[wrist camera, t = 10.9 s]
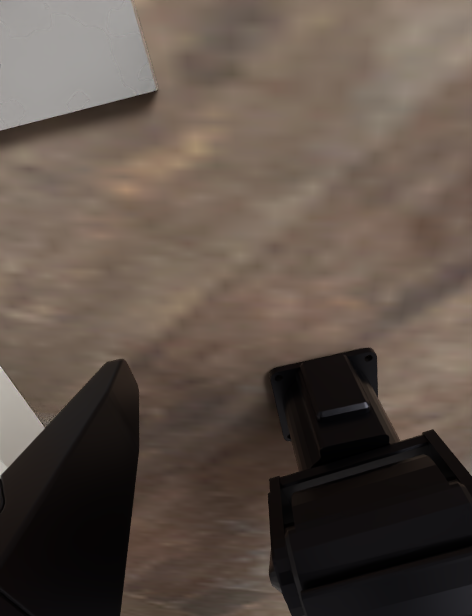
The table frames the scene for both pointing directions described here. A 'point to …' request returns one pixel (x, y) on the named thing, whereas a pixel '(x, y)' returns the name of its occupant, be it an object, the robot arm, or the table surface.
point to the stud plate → (69, 57)
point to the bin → (15, 423)
